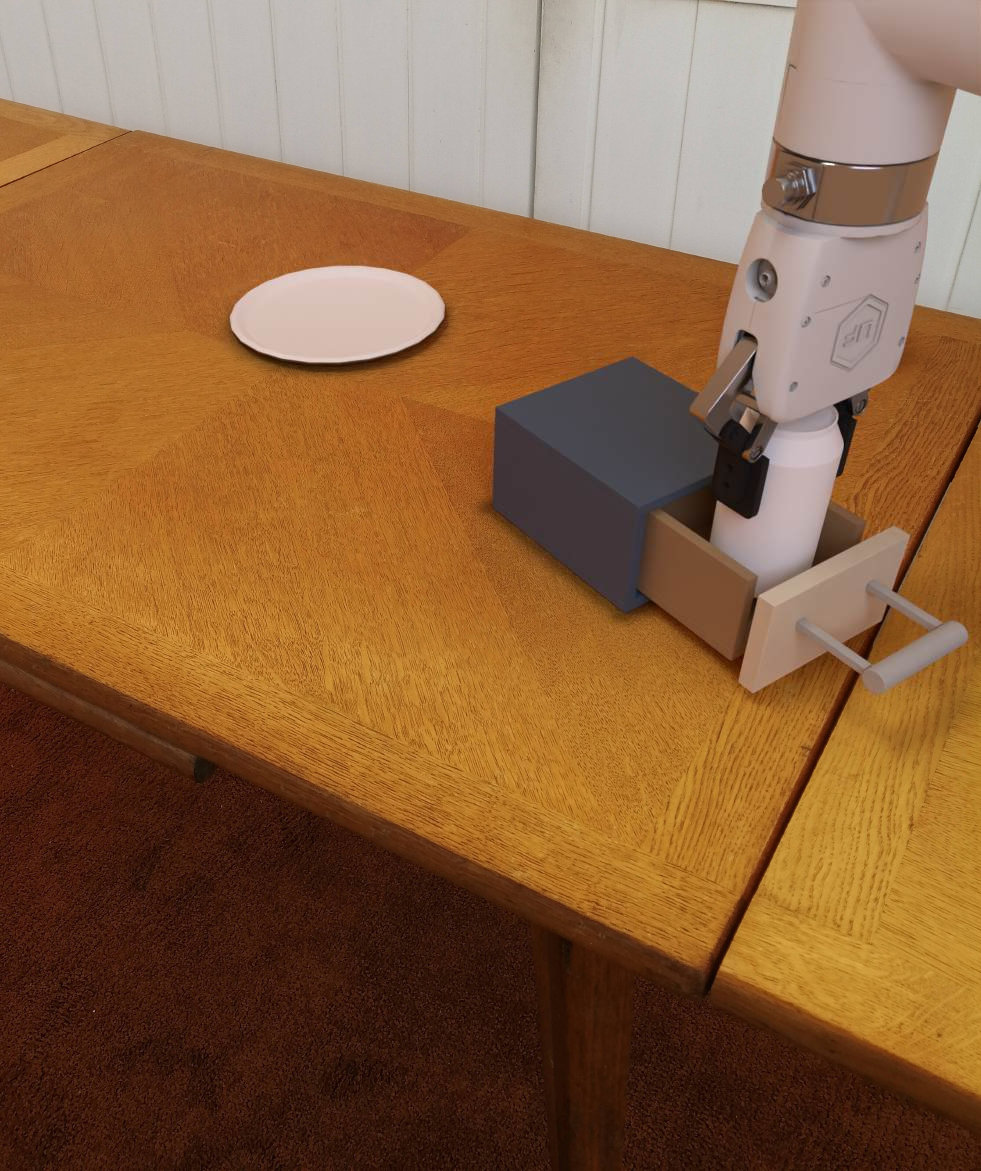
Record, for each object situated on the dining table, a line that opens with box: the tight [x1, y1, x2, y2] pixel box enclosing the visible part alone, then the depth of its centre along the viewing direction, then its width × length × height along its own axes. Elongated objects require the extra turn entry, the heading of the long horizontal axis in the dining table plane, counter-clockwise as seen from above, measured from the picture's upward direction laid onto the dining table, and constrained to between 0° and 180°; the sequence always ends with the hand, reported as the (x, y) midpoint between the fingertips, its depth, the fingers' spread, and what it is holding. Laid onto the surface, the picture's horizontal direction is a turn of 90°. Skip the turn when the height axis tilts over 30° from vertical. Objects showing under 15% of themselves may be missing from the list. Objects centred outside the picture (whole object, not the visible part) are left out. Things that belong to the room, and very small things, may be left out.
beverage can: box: [709, 405, 844, 598], centre depth 64 cm, size 6×6×12 cm
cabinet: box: [492, 356, 719, 614], centre depth 75 cm, size 15×13×9 cm
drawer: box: [637, 484, 969, 696], centre depth 66 cm, size 20×11×7 cm, turn 32°
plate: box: [229, 265, 446, 366], centre depth 105 cm, size 21×21×1 cm
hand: (776, 484), depth 64 cm, fingers closed on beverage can, 6 cm apart
